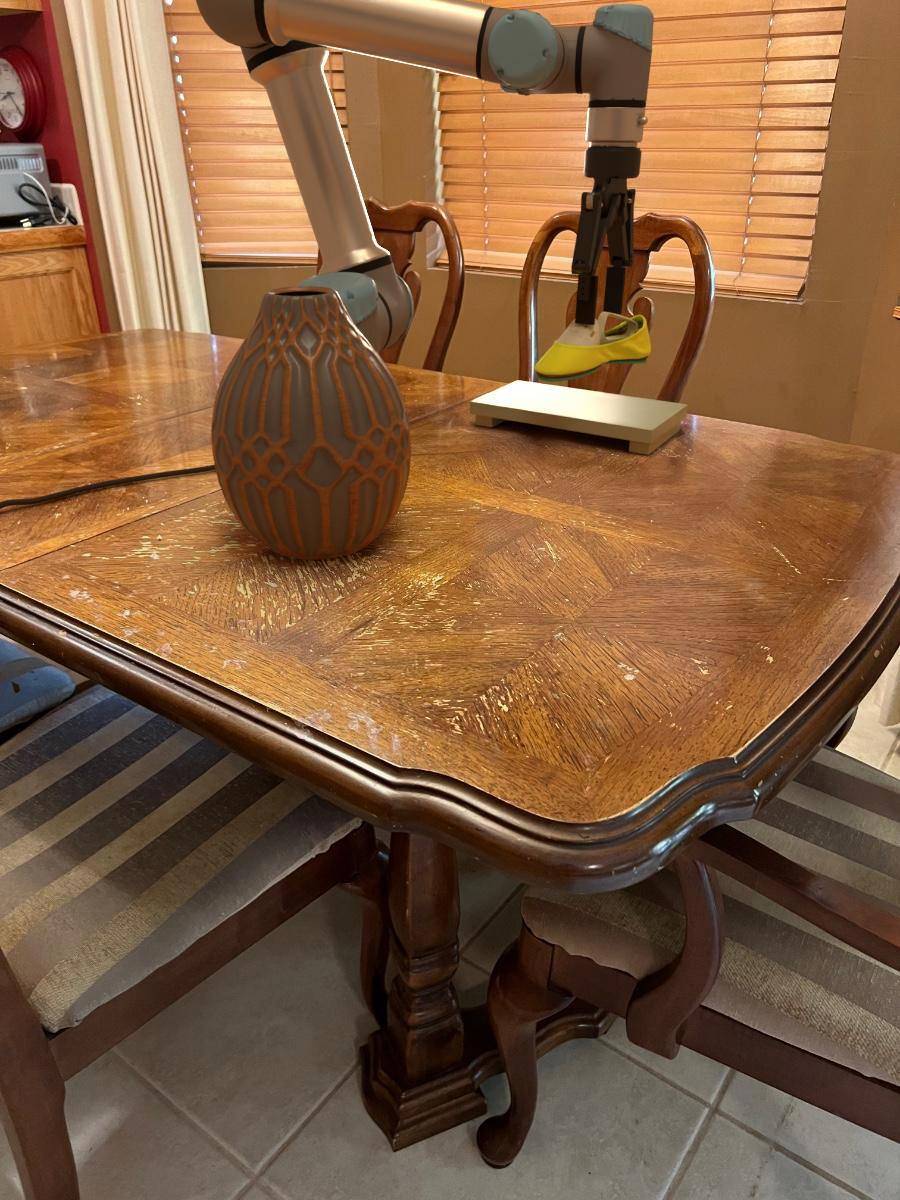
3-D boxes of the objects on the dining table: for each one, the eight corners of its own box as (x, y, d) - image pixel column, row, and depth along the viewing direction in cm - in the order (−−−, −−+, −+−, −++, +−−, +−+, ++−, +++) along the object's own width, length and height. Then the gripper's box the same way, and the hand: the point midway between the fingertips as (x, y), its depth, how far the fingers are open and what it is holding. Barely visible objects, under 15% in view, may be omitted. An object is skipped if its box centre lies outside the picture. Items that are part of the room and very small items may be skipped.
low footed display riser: (649, 457, 123) (652, 430, 122) (469, 426, 137) (469, 401, 136) (685, 429, 135) (688, 404, 134) (516, 403, 149) (517, 380, 148)
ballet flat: (516, 376, 124) (519, 317, 120) (619, 356, 138) (625, 303, 135) (558, 386, 118) (563, 325, 115) (661, 364, 133) (669, 309, 129)
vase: (288, 494, 111) (266, 272, 98) (440, 517, 104) (439, 282, 91) (186, 560, 93) (144, 301, 80) (361, 593, 86) (346, 315, 74)
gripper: (608, 145, 105) (592, 333, 115) (668, 145, 122) (649, 309, 132) (552, 145, 108) (542, 327, 119) (618, 145, 125) (604, 305, 136)
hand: (598, 318), depth 126 cm, fingers closed on ballet flat, 10 cm apart
